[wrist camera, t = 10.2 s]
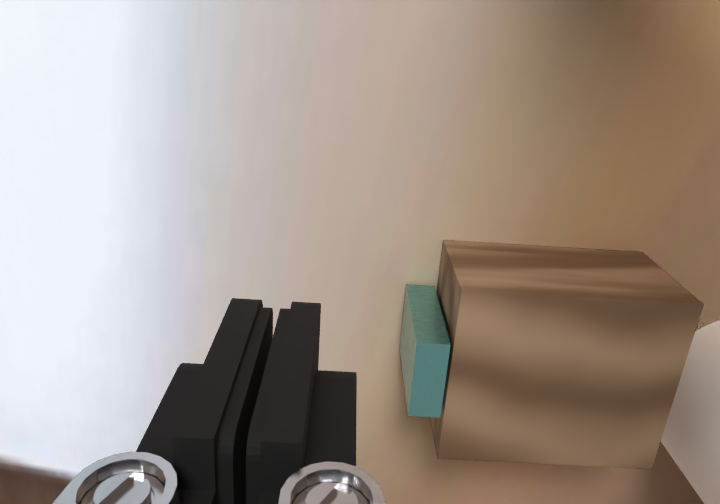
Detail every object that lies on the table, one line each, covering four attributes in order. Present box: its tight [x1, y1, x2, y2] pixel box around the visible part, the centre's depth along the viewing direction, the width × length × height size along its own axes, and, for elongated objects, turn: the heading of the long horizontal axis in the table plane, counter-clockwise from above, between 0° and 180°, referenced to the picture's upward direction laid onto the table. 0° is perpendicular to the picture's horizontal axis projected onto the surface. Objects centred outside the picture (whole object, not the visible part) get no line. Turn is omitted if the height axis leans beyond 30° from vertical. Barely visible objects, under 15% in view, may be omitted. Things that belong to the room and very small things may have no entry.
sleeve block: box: [430, 240, 704, 469], centre depth 40 cm, size 12×14×8 cm
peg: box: [400, 284, 451, 418], centre depth 40 cm, size 5×14×8 cm, turn 86°
